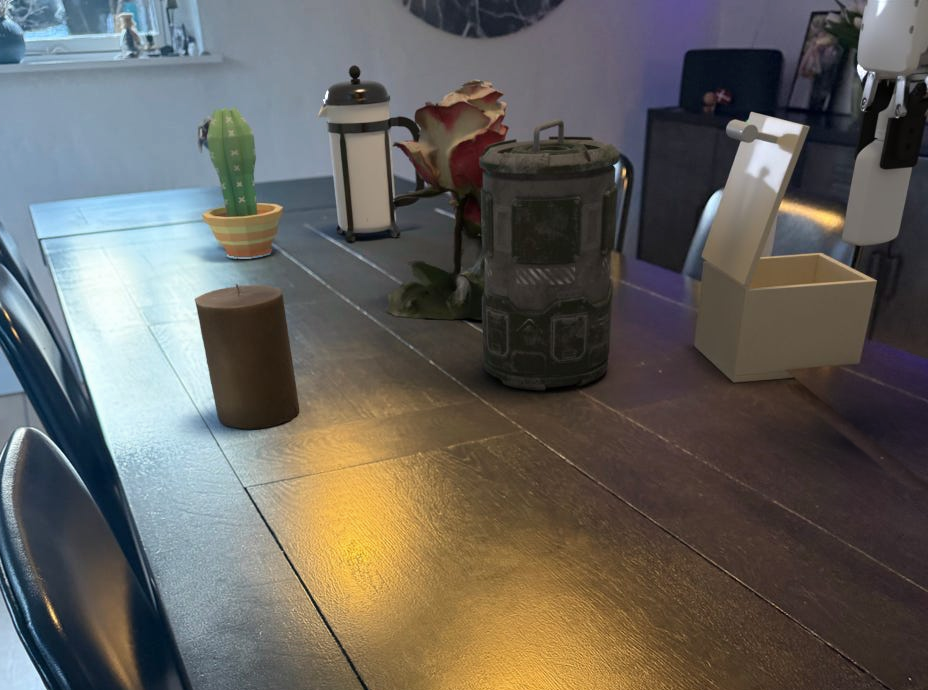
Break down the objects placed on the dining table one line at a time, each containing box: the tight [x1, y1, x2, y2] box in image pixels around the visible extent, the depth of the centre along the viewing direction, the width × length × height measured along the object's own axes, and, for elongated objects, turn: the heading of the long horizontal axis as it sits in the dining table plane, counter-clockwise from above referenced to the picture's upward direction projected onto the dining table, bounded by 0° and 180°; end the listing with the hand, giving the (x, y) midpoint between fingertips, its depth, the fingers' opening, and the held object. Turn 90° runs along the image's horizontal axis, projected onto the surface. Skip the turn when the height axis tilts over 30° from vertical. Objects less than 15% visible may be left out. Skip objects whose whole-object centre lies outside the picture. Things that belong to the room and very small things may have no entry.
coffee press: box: [317, 65, 426, 243], centre depth 184 cm, size 17×16×30 cm
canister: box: [479, 118, 621, 392], centre depth 110 cm, size 16×16×28 cm
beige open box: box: [693, 252, 878, 383], centre depth 115 cm, size 16×15×11 cm
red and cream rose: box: [367, 79, 510, 321], centre depth 139 cm, size 26×29×30 cm
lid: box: [700, 111, 811, 287], centre depth 107 cm, size 16×15×5 cm
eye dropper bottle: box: [841, 94, 913, 247], centre depth 84 cm, size 4×6×12 cm
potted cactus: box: [195, 107, 284, 257], centre depth 175 cm, size 15×15×25 cm
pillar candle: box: [194, 283, 300, 430], centre depth 106 cm, size 10×10×15 cm
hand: (884, 161), depth 84 cm, fingers closed on eye dropper bottle, 4 cm apart
